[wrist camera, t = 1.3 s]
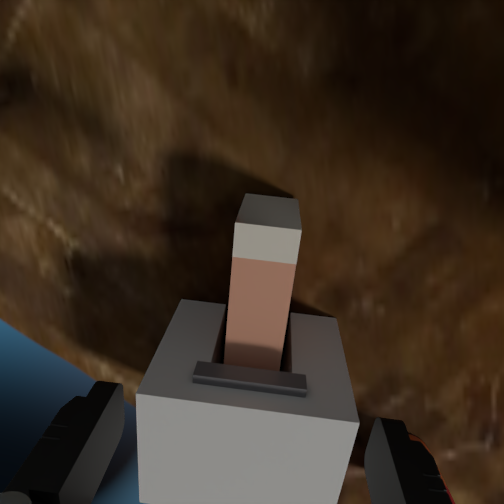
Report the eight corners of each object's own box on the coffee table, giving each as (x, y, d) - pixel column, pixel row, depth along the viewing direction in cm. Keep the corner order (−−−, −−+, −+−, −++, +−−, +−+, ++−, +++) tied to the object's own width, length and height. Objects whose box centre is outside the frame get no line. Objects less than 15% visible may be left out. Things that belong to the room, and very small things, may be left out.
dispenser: (337, 311, 29) (362, 414, 20) (316, 406, 33) (329, 528, 24) (181, 292, 30) (135, 384, 20) (179, 388, 33) (139, 502, 24)
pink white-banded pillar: (297, 199, 26) (301, 230, 20) (269, 388, 32) (266, 451, 27) (245, 193, 26) (235, 222, 20) (228, 383, 32) (216, 444, 27)
